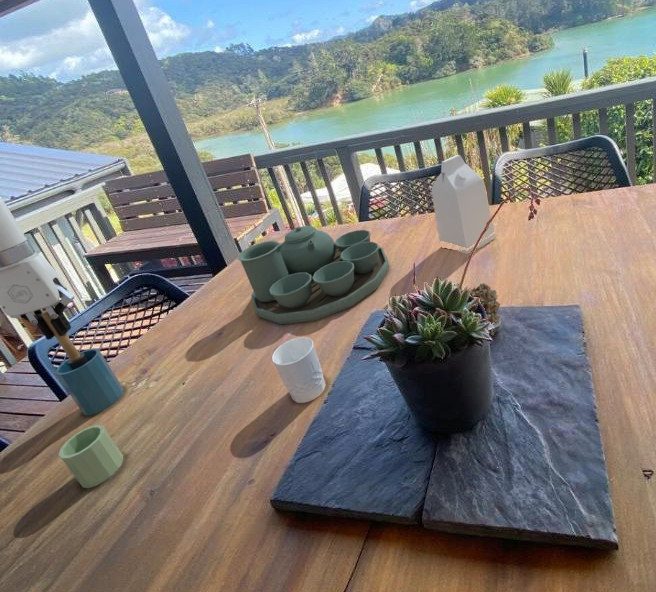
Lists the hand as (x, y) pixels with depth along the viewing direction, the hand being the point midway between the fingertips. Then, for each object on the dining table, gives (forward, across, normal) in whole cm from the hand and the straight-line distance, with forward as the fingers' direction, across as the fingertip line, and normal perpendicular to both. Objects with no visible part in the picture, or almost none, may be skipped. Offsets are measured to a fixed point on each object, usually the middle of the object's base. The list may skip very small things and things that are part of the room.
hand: (59, 333), depth 90 cm
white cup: (+19, +48, -17) cm, 54 cm away
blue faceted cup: (+19, 0, 0) cm, 19 cm away
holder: (+19, +10, -22) cm, 31 cm away
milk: (+19, +94, +27) cm, 100 cm away
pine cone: (+19, +81, -19) cm, 86 cm away
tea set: (+19, +50, +28) cm, 61 cm away
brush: (+12, 0, 0) cm, 12 cm away
